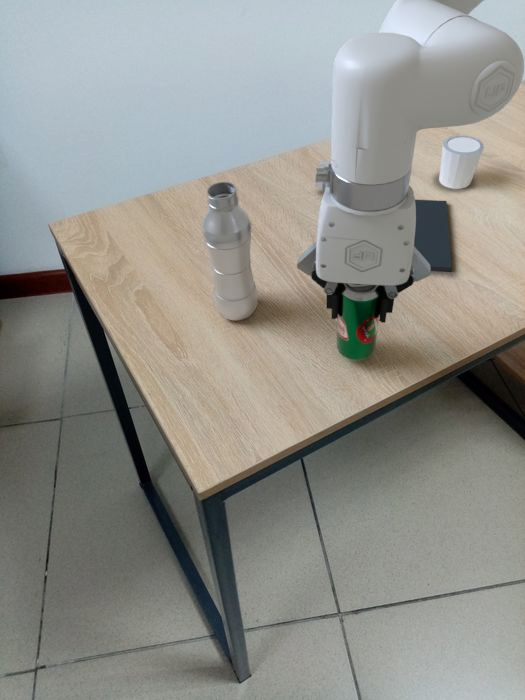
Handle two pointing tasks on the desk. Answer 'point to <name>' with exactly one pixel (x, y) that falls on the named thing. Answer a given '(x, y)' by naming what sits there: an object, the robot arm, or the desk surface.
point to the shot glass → (459, 161)
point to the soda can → (358, 319)
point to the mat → (433, 234)
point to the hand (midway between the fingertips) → (358, 311)
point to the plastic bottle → (229, 252)
